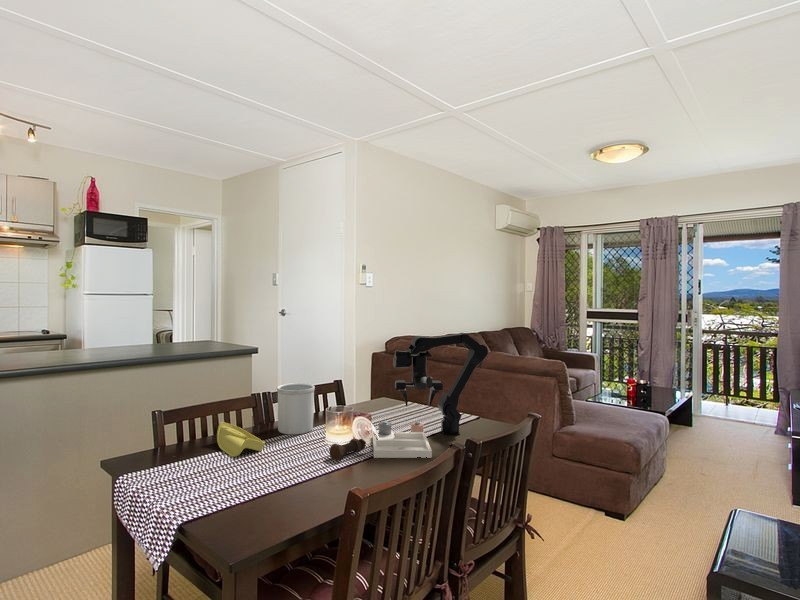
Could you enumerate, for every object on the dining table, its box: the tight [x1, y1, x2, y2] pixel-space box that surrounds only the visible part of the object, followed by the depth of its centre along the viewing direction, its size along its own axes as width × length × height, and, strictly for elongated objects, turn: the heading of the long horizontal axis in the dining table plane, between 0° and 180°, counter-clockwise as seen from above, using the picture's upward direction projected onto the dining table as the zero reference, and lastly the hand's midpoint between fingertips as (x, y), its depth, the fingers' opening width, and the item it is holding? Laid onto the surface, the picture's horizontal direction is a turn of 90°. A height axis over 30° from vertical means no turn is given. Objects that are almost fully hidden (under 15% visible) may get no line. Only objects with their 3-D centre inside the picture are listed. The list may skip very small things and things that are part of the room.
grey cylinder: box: [378, 420, 392, 435], centre depth 184 cm, size 5×5×5 cm
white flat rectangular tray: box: [372, 429, 433, 459], centre depth 174 cm, size 20×29×2 cm
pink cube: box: [410, 421, 425, 432], centre depth 187 cm, size 5×5×5 cm
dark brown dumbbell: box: [328, 438, 367, 461], centre depth 163 cm, size 6×5×15 cm
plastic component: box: [216, 421, 266, 458], centre depth 166 cm, size 20×7×10 cm
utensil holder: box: [276, 382, 316, 435], centre depth 187 cm, size 15×15×18 cm
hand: (418, 406), depth 186 cm, fingers open, 9 cm apart
